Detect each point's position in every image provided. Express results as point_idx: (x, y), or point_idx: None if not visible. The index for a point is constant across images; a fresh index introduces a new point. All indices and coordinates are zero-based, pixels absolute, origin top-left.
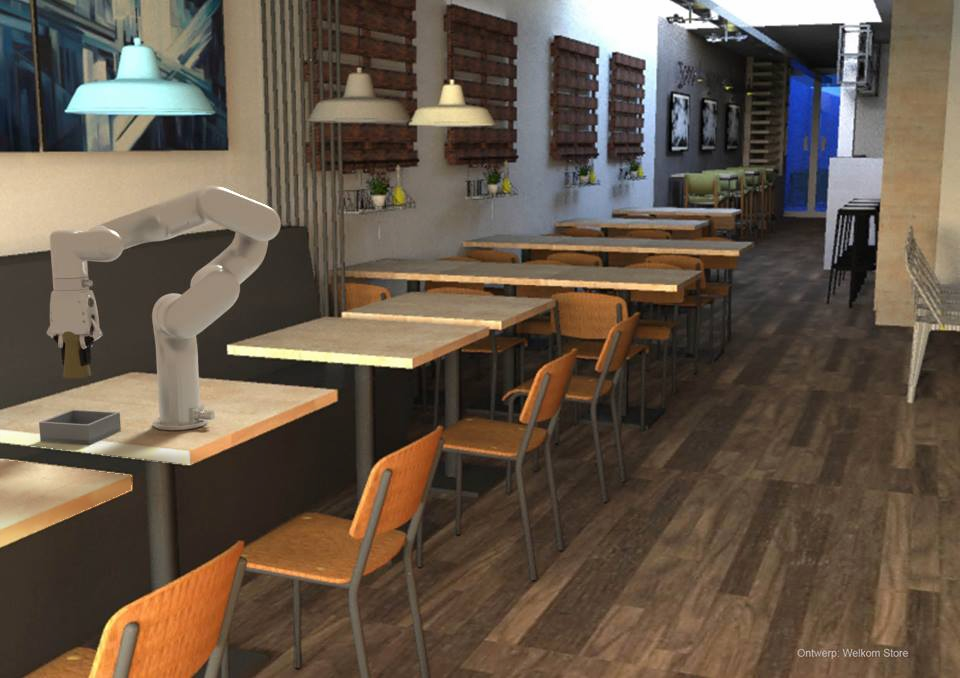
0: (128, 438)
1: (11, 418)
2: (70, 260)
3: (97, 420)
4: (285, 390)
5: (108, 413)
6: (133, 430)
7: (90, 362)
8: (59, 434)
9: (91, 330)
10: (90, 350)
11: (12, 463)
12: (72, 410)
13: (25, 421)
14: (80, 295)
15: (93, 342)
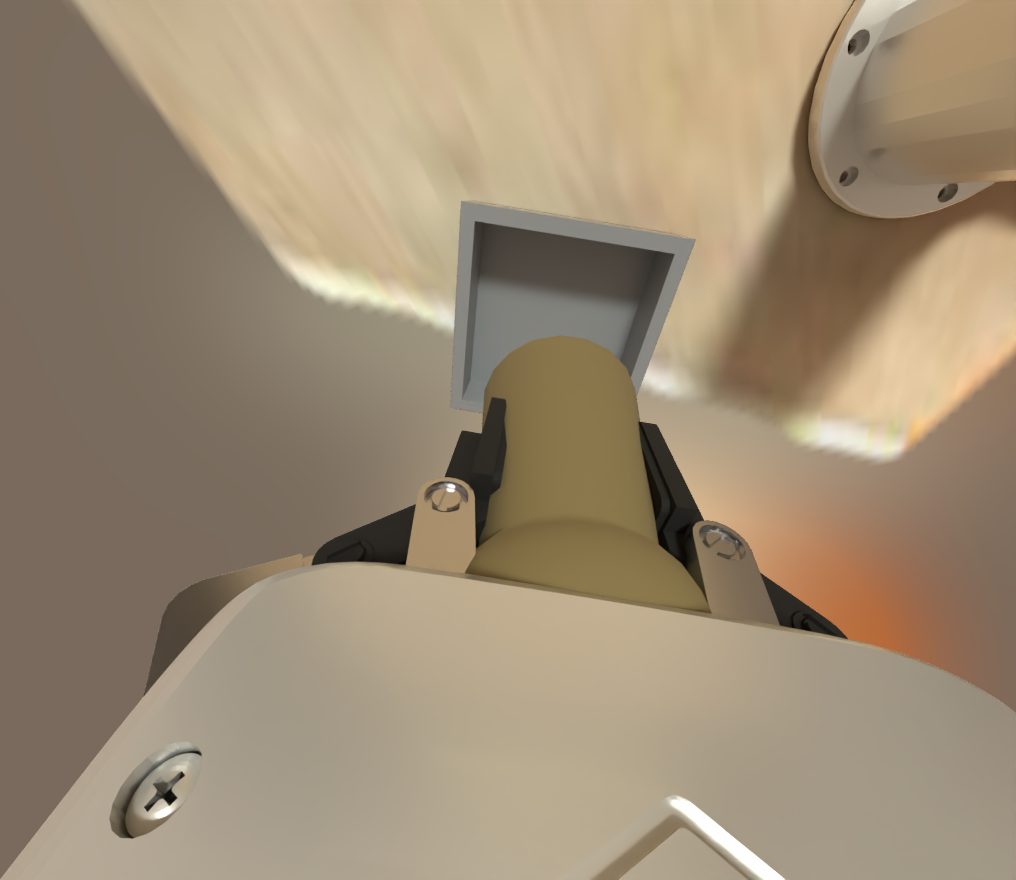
0: (714, 331)
1: (114, 35)
2: None
3: (633, 377)
4: None
5: (643, 247)
6: (719, 217)
7: (655, 428)
8: None
9: (839, 658)
10: (701, 518)
11: None
12: (471, 221)
13: (219, 96)
14: None
15: (779, 601)
